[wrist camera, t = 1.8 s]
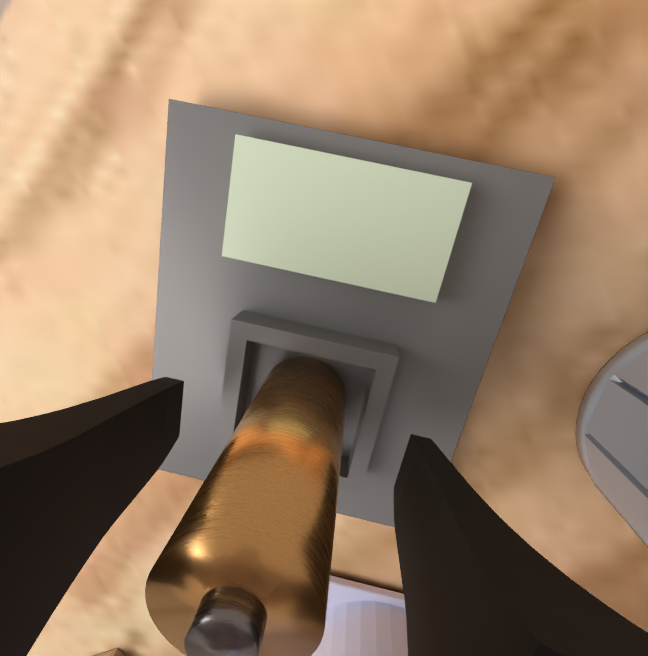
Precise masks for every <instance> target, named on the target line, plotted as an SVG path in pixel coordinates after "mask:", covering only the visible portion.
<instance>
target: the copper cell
mask: <svg viewBox="0 0 648 656" xmlns="http://www.w3.org/2000/svg"><path fill="white" fill-rule="evenodd" d="M346 404H347V393H346V388H345V385H344V382H343V380H342V379H341V377H340V375H339V374H338V373H337V372H336V371H335V370H334V369H333V368H332V367H331V366H329V365H328V364H326V363H325V362H323V361H320V360H318V359H315V358H310V357H294V358H290V359H287V360H284V361H282V362H281V363H279V364H278V365H276V366H275V367H274V368H273V369H272V370H271V371H270V373H269V374H268V376H267V378H266V379H265V381H264V383H263V384H262V386H261V388H260V389H259V391H258V393H257V394H256V396H255V398H254V399H253V401H252V403H251V404H250V406H249V408H248V409H247V411H246V413H245V414H244V416H243V418H242V419H241V421H240V423H239V424H238V426H237V428H236V429H235V431H234V433H233V434H232V436H231V438H230V439H229V441H228V443H227V444H226V446H225V448H224V449H223V451H222V453H221V454H220V456H219V458H218V459H217V461H216V463H215V464H214V466H213V468H212V469H211V471H210V473H209V474H208V476H207V478H206V479H205V481H204V483H203V484H202V486H201V488H200V489H199V491H198V493H197V494H196V496H195V498H194V500H193V501H192V503H191V505H190V506H189V508H188V510H187V511H186V513H185V515H184V516H183V518H182V520H181V521H180V523H179V525H178V526H177V528H176V530H175V531H174V533H173V535H172V536H171V538H170V540H169V541H168V543H167V545H166V546H165V548H164V550H163V551H162V553H161V555H160V556H159V558H158V560H157V561H156V563H155V565H154V566H153V568H152V570H151V571H150V573H149V576H148V579H147V582H146V588H145V598H146V603H147V608H148V611H149V613H150V616H151V618H152V620H153V622H154V624H155V625H156V627H157V628H158V630H159V631H160V632H161V633H162V635H163V636H164V637H165V638H166V639H167V640H168V641H169V642H170V643H171V644H172V645H173V646H174V647H175V648H177V649H178V650H179V651H181V652H182V653H183V654H185V655H187V656H311V655H312V654H313V653H314V652H315V651H316V650H317V648H318V646H319V645H320V643H321V641H322V638H323V635H324V630H325V623H326V612H327V602H328V591H329V581H330V571H331V560H332V550H333V539H334V529H335V518H336V508H337V497H338V487H339V477H340V466H341V456H342V445H343V435H344V424H345V414H346Z"/></svg>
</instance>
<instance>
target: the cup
mask: <svg viewBox="0 0 648 656" xmlns="http://www.w3.org/2000/svg"><path fill="white" fill-rule="evenodd" d="M576 443H577V448H578V452H579V456H580V458H581V461H582V463H583V465H584V467H585V469H586V470H587V472H588V473H589V475H590V476H591V478H592V481H593V482H594V483H595V484H594V485H595V486H596V487H597V488H598V489H599V490H600V492H601V493H602V494H603V495H604V496H605V498H606V499H607V500H608V501H609V502H610V503H611V505H612V506H613V507H614V508H615V509H616V510H617V512H618V513H619V514H620V515H621V516H622V518H623V519H624V520H625V521H626V522H627V523H628V525H629V526H630V527H631V528H632V529H633V531H634V532H635V533H636V534H637V535H638V536H639V538H640V539H641V540H642V541H643V542H644V543H645V545H646V546H647V547H648V332H647V333H645V334H643V335H642V336H640V337H638V338H637V339H635V340H634V341H632V342H631V343H630V344H628V345H627V346H625V347H624V348H623V349H622V350H620V351H619V352H618V353H617V354H616V355H615V356H613V357H612V358H611V359H610V360H609V361H608V363H607V364H606V365H605V366H604V367H603V368H602V369H601V370H600V372H599V373H598V374H597V376H596V377H595V378H594V380H593V381H592V382H591V384H590V386H589V388H588V390H587V391H586V393H585V395H584V398H583V400H582V403H581V405H580V408H579V412H578V416H577V421H576Z"/></svg>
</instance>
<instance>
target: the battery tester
mask: <svg viewBox="0 0 648 656" xmlns="http://www.w3.org/2000/svg"><path fill="white" fill-rule="evenodd" d="M555 178H556V177H551V176H546V175H541V174H536V173H532V172H527V171H522V170H517V169H512V168H507V167H502V166H497V165H492V164H487V163H482V162H477V161H472V160H468V159H463V158H458V157H453V156H448V155H443V154H438V153H433V152H428V151H423V150H418V149H413V148H409V147H404V146H399V145H394V144H389V143H384V142H379V141H374V140H369V139H364V138H359V137H354V136H350V135H345V134H340V133H335V132H330V131H325V130H320V129H315V128H310V127H305V126H300V125H295V124H290V123H286V122H281V121H276V120H271V119H266V118H261V117H256V116H251V115H246V114H241V113H236V112H231V111H227V110H222V109H217V108H212V107H207V106H202V105H197V104H192V103H187V102H182V101H177V100H172V99H169V106H168V122H167V139H166V156H165V172H164V189H163V206H162V223H161V239H160V256H159V273H158V289H157V306H156V323H155V339H154V356H153V373H152V380H155V379H158V378H162V377H169V378H173V379H178V380H182V381H184V389H183V401H182V412H181V423H180V435H179V438H178V439H177V441H176V443H175V444H174V446H173V448H172V449H171V451H170V453H169V454H168V456H167V457H166V459H165V460H164V462H163V463H162V465H161V466H160V467H159V470H163V471H167V472H171V473H175V474H179V475H184V476H188V477H192V478H196V479H200V480H204V481H205V479H206V478H207V476H208V474H209V473H210V471H211V469H212V468H213V466H214V464H215V463H216V461H217V459H218V458H219V456H220V454H221V453H222V451H223V449H224V448H225V446H226V444H227V443H228V441H229V439H230V438H231V436H232V434H233V433H234V431H235V429H236V428H237V426H238V424H239V423H240V421H241V419H242V418H243V416H244V414H245V413H246V411H247V409H248V408H249V406H250V404H251V403H252V401H253V399H254V398H255V396H256V394H257V393H258V391H259V389H260V388H261V386H262V384H263V383H264V381H265V379H266V378H267V376H268V374H269V373H270V371H271V370H272V369H273V368H274V367H275V366H276V365H278V364H279V363H281V362H282V361H284V360H287V359H290V358H294V357H310V358H315V359H318V360H320V361H323V362H325V363H326V364H328V365H329V366H331V367H332V368H333V369H334V370H335V371H336V372H337V373H338V374H339V375H340V377H341V379H342V380H343V382H344V385H345V388H346V393H347V404H346V414H345V424H344V435H343V445H342V456H341V466H340V477H339V487H338V497H337V508H336V513H339V514H343V515H347V516H351V517H355V518H359V519H363V520H367V521H371V522H376V523H380V524H384V525H388V526H392V527H395V524H394V485H395V482H396V479H397V476H398V472H399V469H400V466H401V463H402V460H403V457H404V454H405V451H406V448H407V444H408V441H409V438H410V435H411V434H413V435H418V436H422V437H426V438H431V439H432V440H433V442H434V443H435V444H436V445H437V446H438V447H439V449H440V450H441V451H442V452H443V453H444V455H445V456H446V457H447V458H448V460H449V461H450V462H451V459H452V456H453V454H454V451H455V448H456V446H457V443H458V440H459V438H460V435H461V432H462V429H463V427H464V424H465V421H466V419H467V416H468V413H469V410H470V408H471V405H472V402H473V400H474V397H475V394H476V391H477V389H478V386H479V383H480V381H481V378H482V375H483V373H484V370H485V367H486V364H487V362H488V359H489V356H490V354H491V351H492V348H493V345H494V343H495V340H496V337H497V335H498V332H499V329H500V327H501V324H502V321H503V318H504V316H505V313H506V310H507V308H508V305H509V302H510V299H511V297H512V294H513V291H514V289H515V286H516V283H517V281H518V278H519V275H520V272H521V270H522V267H523V264H524V262H525V259H526V256H527V253H528V251H529V248H530V245H531V243H532V240H533V237H534V234H535V232H536V229H537V226H538V224H539V221H540V218H541V216H542V213H543V210H544V207H545V205H546V202H547V199H548V197H549V194H550V191H551V188H552V186H553V183H554V180H555Z"/></svg>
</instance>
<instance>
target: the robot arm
mask: <svg viewBox="0 0 648 656" xmlns="http://www.w3.org/2000/svg"><path fill="white" fill-rule="evenodd" d="M183 389H184V381H182V380H178V379H173V378H169V377H162V378H158V379H155V380H152V381H149V382H146V383H143V384H140V385H137V386H134V387H131V388H128V389H126V390H123V391H120V392H117V393H114V394H111V395H108V396H105V397H102V398H99V399H95V400H92V401H89V402H86V403H82V404H79V405H76V406H73V407H69V408H66V409H62V410H59V411H55V412H51V413H47V414H43V415H38V416H34V417H29V418H25V419H20V420H16V421H10V422H5V423H0V656H27V654H28V652H29V651H30V649H31V647H32V646H33V644H34V643H35V641H36V639H37V638H38V636H39V634H40V633H41V631H42V629H43V628H44V626H45V625H46V623H47V621H48V620H49V618H50V616H51V615H52V613H53V612H54V610H55V609H56V607H57V606H58V604H59V602H60V601H61V599H62V598H63V596H64V595H65V593H66V592H67V590H68V588H69V587H70V585H71V584H72V582H73V581H74V579H75V578H76V576H77V575H78V573H79V572H80V570H81V569H82V567H83V566H84V564H85V563H86V561H87V560H88V558H89V557H90V555H91V554H92V552H93V551H94V549H95V548H96V546H97V545H98V544H99V542H100V541H101V539H102V538H103V537H104V535H105V534H106V533H107V531H108V530H109V529H110V527H111V526H112V525H113V523H114V522H115V521H116V520H117V519H118V517H119V516H120V515H121V514H122V513H123V511H124V510H125V509H126V508H127V506H128V505H129V504H130V503H131V502H132V500H133V499H134V498H135V497H136V496H137V494H138V493H139V492H140V491H141V489H142V488H143V487H144V486H145V485H146V483H147V482H148V481H149V480H150V478H151V477H152V476H153V475H154V474H155V472H156V471H157V470H158V469H159V467H160V466H161V465H162V463H163V462H164V460H165V459H166V457H167V456H168V454H169V453H170V451H171V449H172V448H173V446H174V444H175V443H176V441H177V439H178V438H179V435H180V423H181V412H182V401H183ZM394 524H395V532H396V540H397V547H398V555H399V562H400V569H401V576H402V584H403V591H404V594H402V593H398V592H394V591H390V590H386V589H383V588H379V587H375V586H371V585H367V584H363V583H359V582H355V581H351V580H347V579H343V578H339V577H335V576H331V575H330V581H329V591H328V602H327V612H326V623H325V630H324V635H323V638H322V641H321V643H320V645H319V646H318V648H317V650H316V651H315V652H314V653H313V654H312V655H311V656H648V633H647V632H646V631H644V630H642V629H641V628H639V627H638V626H636V625H635V624H633V623H632V622H630V621H628V620H627V619H626V618H624V617H623V616H621V615H620V614H618V613H617V612H615V611H614V610H613V609H611V608H610V607H608V606H607V605H606V604H604V603H603V602H601V601H600V600H599V599H597V598H596V597H594V596H593V595H591V594H590V593H589V592H587V591H586V590H585V589H583V588H582V587H581V586H579V585H578V584H577V583H575V582H574V581H573V580H571V579H570V578H569V577H568V576H566V575H565V574H564V573H563V572H561V571H560V570H559V569H558V568H556V567H555V566H554V565H553V564H551V563H550V562H549V561H548V560H547V559H545V558H544V557H543V556H542V555H540V554H539V553H538V552H537V551H536V550H535V549H533V548H532V547H531V546H530V545H529V544H528V543H527V542H526V541H524V540H523V539H522V538H521V537H520V536H519V535H518V534H517V533H516V532H515V531H514V530H513V529H511V528H510V527H509V526H508V525H507V524H506V523H505V522H504V521H503V520H502V519H501V518H500V517H499V516H498V515H497V514H496V513H495V512H494V511H493V510H492V509H491V508H490V507H489V506H488V504H487V503H486V502H485V501H484V500H483V499H482V498H481V497H480V496H479V495H478V494H477V493H476V491H475V490H474V489H473V488H472V487H471V486H470V485H469V484H468V482H467V481H466V480H465V479H464V478H463V476H462V475H461V474H460V473H459V472H458V471H457V469H456V468H455V467H454V466H453V464H452V463H451V462H450V461H449V460H448V458H447V457H446V456H445V455H444V453H443V452H442V451H441V450H440V449H439V447H438V446H437V445H436V444H435V443H434V442H433V440H432V439H431V438H426V437H422V436H418V435H413V434H411V435H410V438H409V441H408V444H407V448H406V451H405V454H404V457H403V460H402V463H401V466H400V469H399V472H398V476H397V479H396V482H395V485H394Z"/></svg>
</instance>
